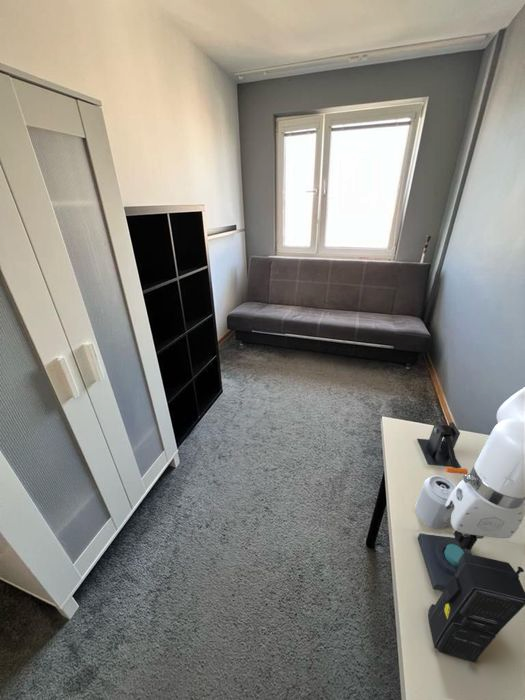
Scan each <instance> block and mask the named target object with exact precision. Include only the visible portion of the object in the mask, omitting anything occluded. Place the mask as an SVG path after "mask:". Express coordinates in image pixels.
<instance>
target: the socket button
mask: <svg viewBox="0 0 525 700" xmlns="http://www.w3.org/2000/svg"><path fill="white" fill-rule="evenodd" d="M463 553H464V552H463V550H462V549H461V548H460V547H458V546H457V545H454V544H449V545H447V547H446V549H445V550H444V555H445V558H446V559H447V561H448V562H449V563H450V564H452V565H453V566H456V567H458V561H459V559H460V558H461V556H462V554H463Z"/></svg>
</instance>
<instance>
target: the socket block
mask: <svg viewBox="0 0 525 700" xmlns="http://www.w3.org/2000/svg"><path fill="white" fill-rule="evenodd" d="M417 541H418V545H419V548H420V551H421V552H420V553H421V555H422V557H423V561H424V564H425V568H426V571H427V573H428V577H429V580H430V583H431V587H432V589H433V590H435V591H436V590H437V591H442V590H443V589H444V588H445V587H446V586H447V584H448V583H449V582H450V581H451V579H452V578H453V576H454V575H455V573H456V572H457V570H458V567H456V566H453V565H452V564H450V563H449V562H448V561H447V559H446V558H445V555H444V550H445V549H446V547H447V545H449V544H454V545H457V546H458V547H460V545H459V543H458V541H456V539H455V537H451V536H443V535H435V534H428V533H419V534H418V535H417ZM460 548H461V547H460ZM462 550H463V552H464V553H467V554H471V555H473V553H472V549H471V550H468V549H466V548H465V549H462Z"/></svg>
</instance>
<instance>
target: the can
mask: <svg viewBox="0 0 525 700" xmlns="http://www.w3.org/2000/svg"><path fill="white" fill-rule="evenodd" d="M456 486H457V485H456V484H455V483H454V482H453V481H452V480H450V479H449V478H447V477H445V476H442V475H432V476H430V477H427V479H425V480H424V482H423V484H422V487H421V490H420V493H419V494H418V498H417V500H416V503H415V506H414V511H415V514H416V516H417V518H418V520H420V522H422V523H423V524H424V525H425V526H427V527H429V528H431V529H434V530H442V529H443V530H444V529H446V527H447V526H448V525H447V524H445V523H444V521H443V519H442V516H443V515H444V514H445V513H446V512H447V511H448V510H446V509H445V504H446V502H447V500H448V498H449V496H450V495H451V493H452V491H453V490H454V489H455V487H456Z"/></svg>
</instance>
